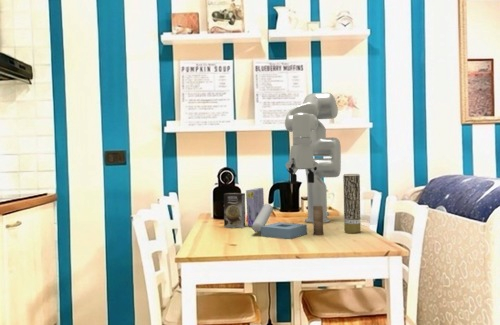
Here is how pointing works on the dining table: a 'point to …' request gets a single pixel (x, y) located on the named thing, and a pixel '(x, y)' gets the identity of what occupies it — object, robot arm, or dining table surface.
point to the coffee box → (234, 210)
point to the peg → (318, 220)
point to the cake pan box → (254, 204)
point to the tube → (262, 217)
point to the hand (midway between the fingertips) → (302, 183)
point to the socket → (284, 230)
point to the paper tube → (351, 203)
